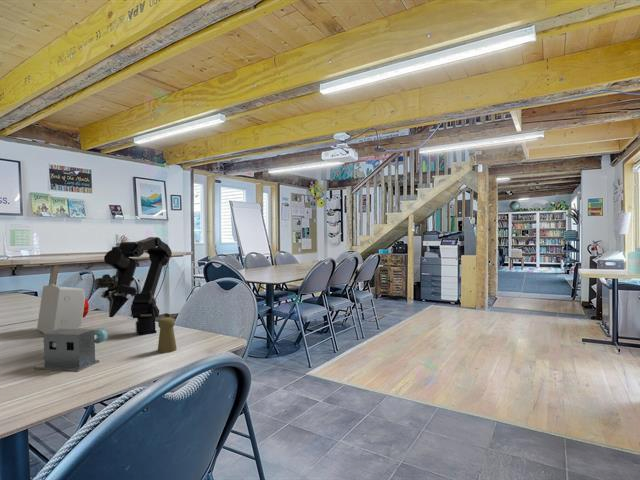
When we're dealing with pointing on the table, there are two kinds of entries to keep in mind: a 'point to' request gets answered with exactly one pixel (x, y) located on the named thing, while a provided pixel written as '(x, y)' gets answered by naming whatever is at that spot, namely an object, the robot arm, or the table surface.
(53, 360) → the mount
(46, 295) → the electrical switch box
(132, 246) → the robot arm
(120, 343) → the table surface
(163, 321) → the olive tapered figurine
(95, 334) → the popped knob
